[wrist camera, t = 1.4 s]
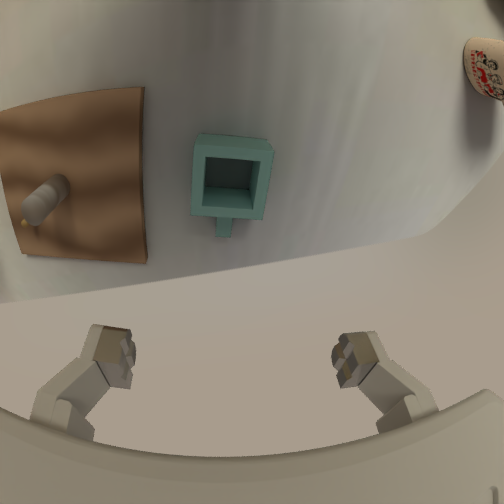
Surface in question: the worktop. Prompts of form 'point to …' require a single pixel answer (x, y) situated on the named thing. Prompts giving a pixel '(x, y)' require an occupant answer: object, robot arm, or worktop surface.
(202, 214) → the teal open cubby box
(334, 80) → the worktop surface
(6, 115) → the post board
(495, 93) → the teacup with lid
